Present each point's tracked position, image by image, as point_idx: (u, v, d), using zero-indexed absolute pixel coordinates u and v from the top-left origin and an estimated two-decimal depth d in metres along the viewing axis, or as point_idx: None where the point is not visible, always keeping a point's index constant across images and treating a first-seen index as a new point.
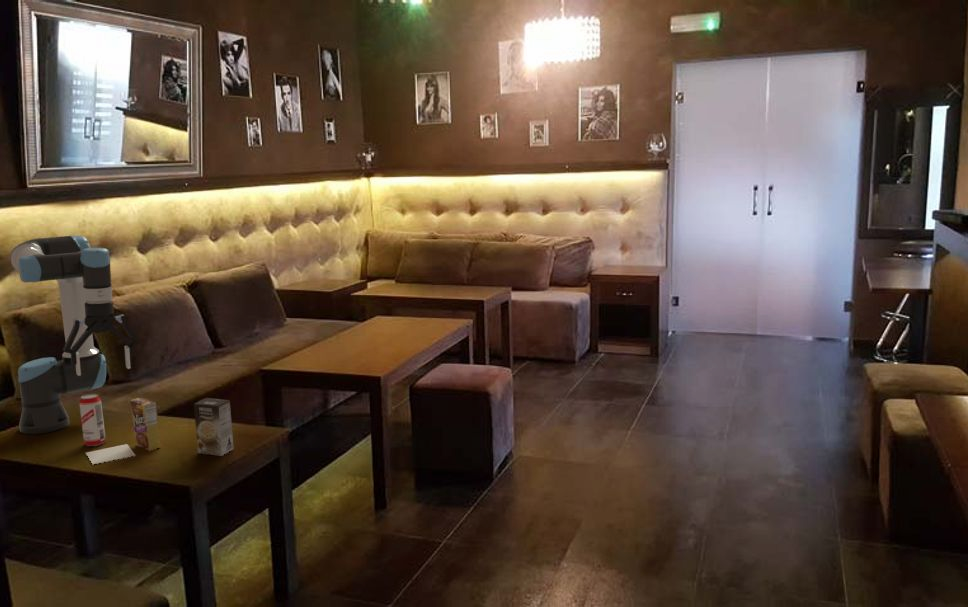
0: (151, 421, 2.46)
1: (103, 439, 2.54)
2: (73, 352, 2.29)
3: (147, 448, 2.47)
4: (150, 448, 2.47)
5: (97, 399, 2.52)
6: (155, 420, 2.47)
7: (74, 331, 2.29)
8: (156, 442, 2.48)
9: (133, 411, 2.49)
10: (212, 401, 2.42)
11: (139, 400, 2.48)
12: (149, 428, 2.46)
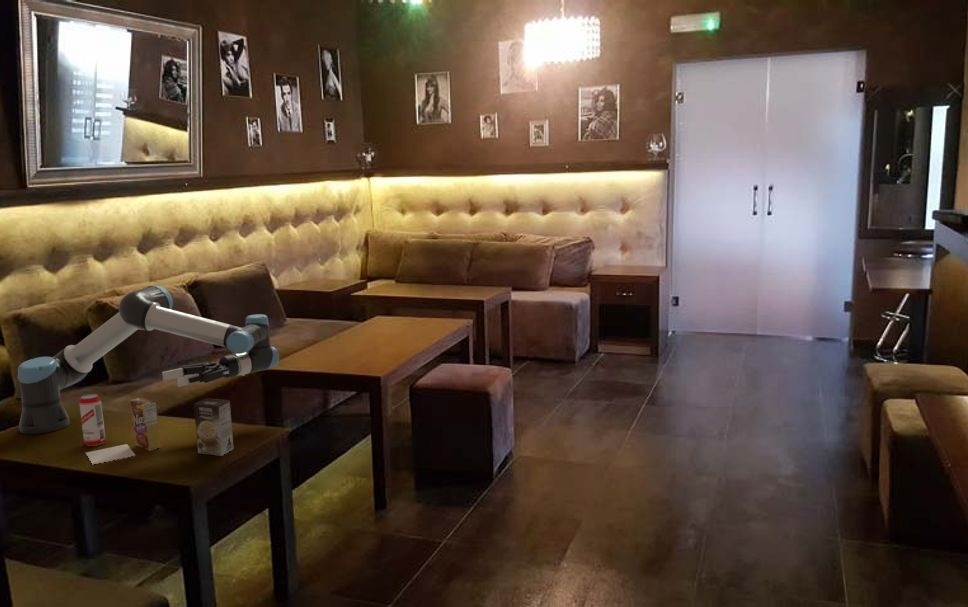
0: (151, 421, 2.46)
1: (103, 439, 2.54)
2: (201, 381, 2.54)
3: (147, 448, 2.47)
4: (150, 448, 2.47)
5: (97, 399, 2.52)
6: (155, 420, 2.47)
7: None
8: (156, 442, 2.48)
9: (133, 411, 2.49)
10: (212, 401, 2.42)
11: (139, 400, 2.48)
12: (149, 428, 2.46)
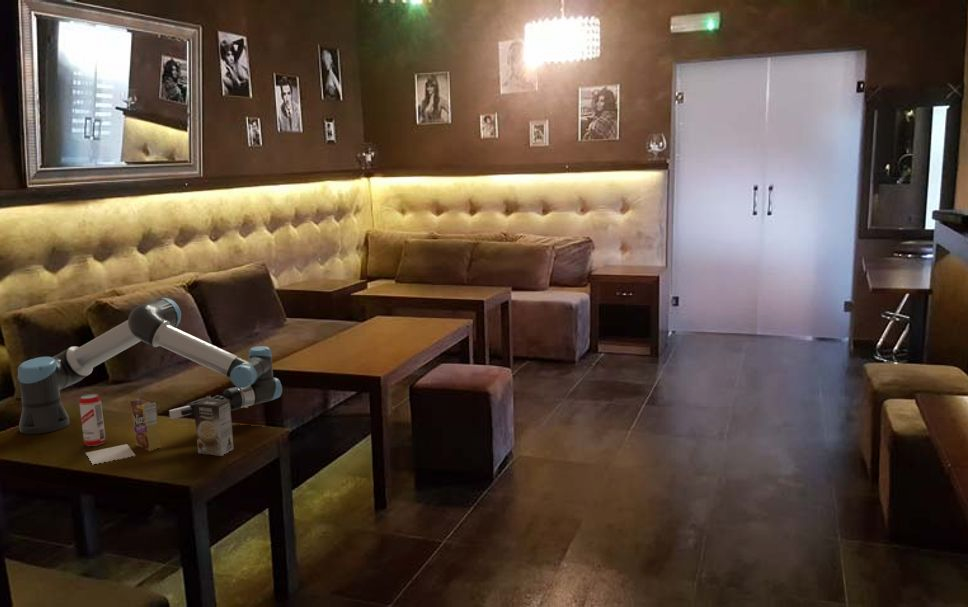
0: (151, 421, 2.46)
1: (103, 439, 2.54)
2: (193, 413, 2.59)
3: (147, 448, 2.47)
4: (150, 448, 2.47)
5: (97, 399, 2.52)
6: (155, 420, 2.47)
7: None
8: (156, 442, 2.48)
9: (133, 411, 2.49)
10: (212, 401, 2.42)
11: (139, 400, 2.48)
12: (149, 428, 2.46)
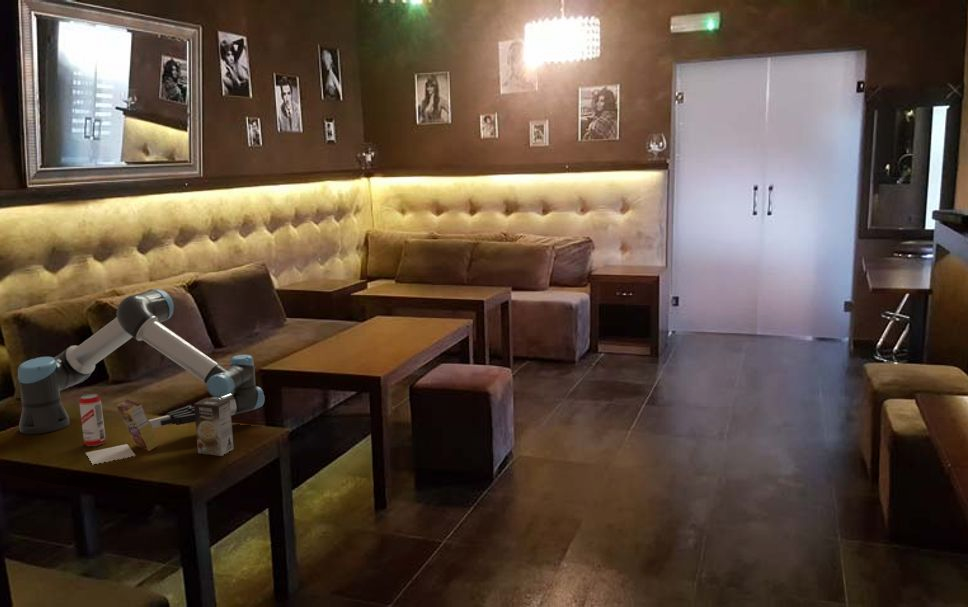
0: (142, 423, 2.44)
1: (103, 439, 2.54)
2: (173, 423, 2.54)
3: (146, 448, 2.47)
4: (149, 448, 2.47)
5: (97, 399, 2.52)
6: (146, 421, 2.45)
7: None
8: (153, 441, 2.48)
9: (122, 416, 2.47)
10: (212, 401, 2.42)
11: (125, 404, 2.45)
12: (142, 430, 2.44)
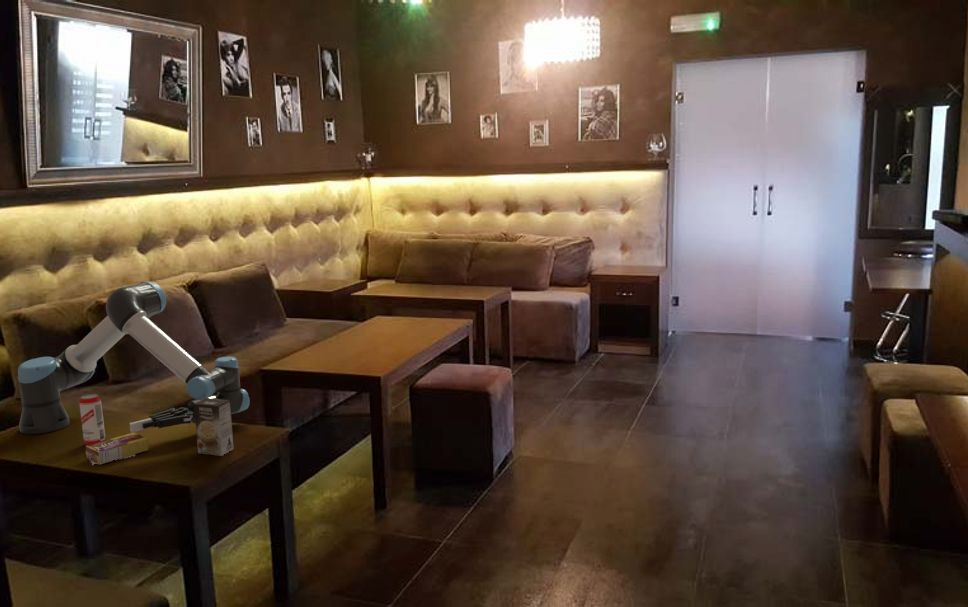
0: (118, 453, 2.39)
1: (103, 439, 2.54)
2: (155, 426, 2.51)
3: None
4: (145, 449, 2.46)
5: (97, 399, 2.52)
6: (118, 449, 2.39)
7: (180, 423, 2.53)
8: (140, 443, 2.45)
9: None
10: (212, 401, 2.42)
11: (90, 455, 2.39)
12: (125, 453, 2.41)
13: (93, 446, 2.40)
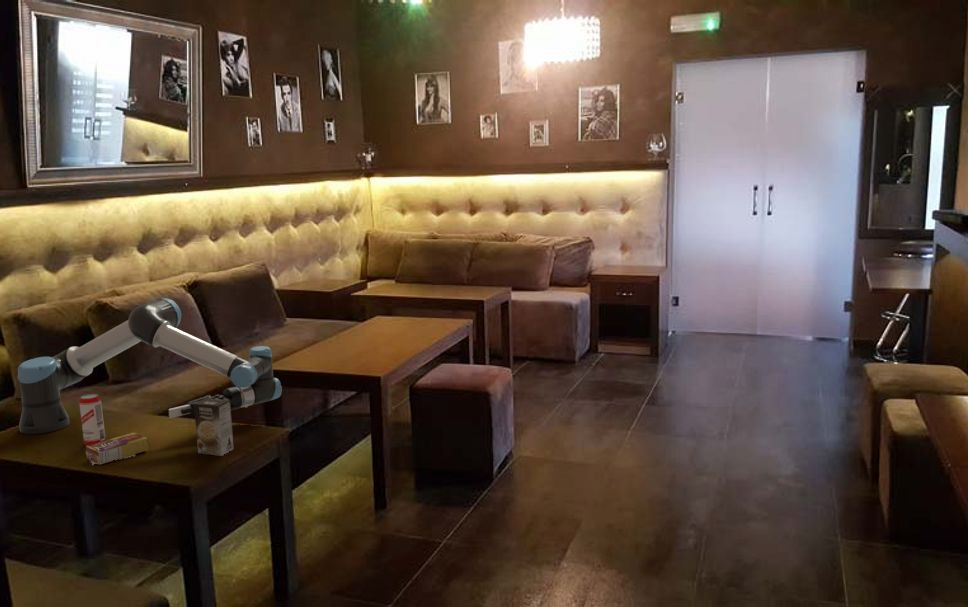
0: (118, 453, 2.39)
1: (103, 439, 2.54)
2: None
3: None
4: (145, 449, 2.46)
5: (97, 399, 2.52)
6: (118, 449, 2.39)
7: None
8: (140, 443, 2.45)
9: None
10: (212, 401, 2.42)
11: (90, 455, 2.39)
12: (125, 453, 2.41)
13: (93, 446, 2.40)
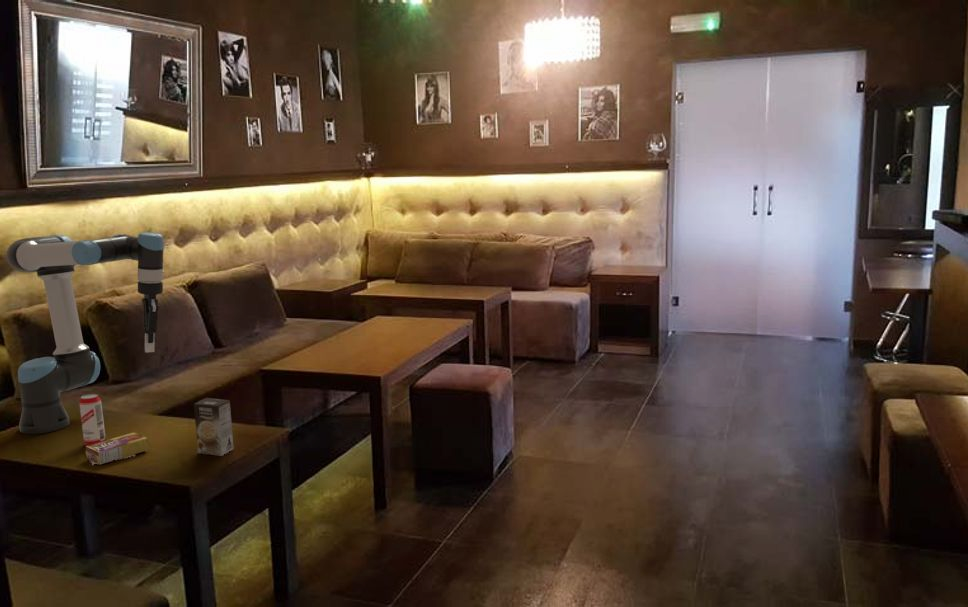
0: (118, 453, 2.39)
1: (103, 439, 2.54)
2: None
3: None
4: (145, 449, 2.46)
5: (97, 399, 2.52)
6: (118, 449, 2.39)
7: None
8: (140, 443, 2.45)
9: None
10: (212, 401, 2.42)
11: (90, 455, 2.39)
12: (125, 453, 2.41)
13: (93, 446, 2.40)
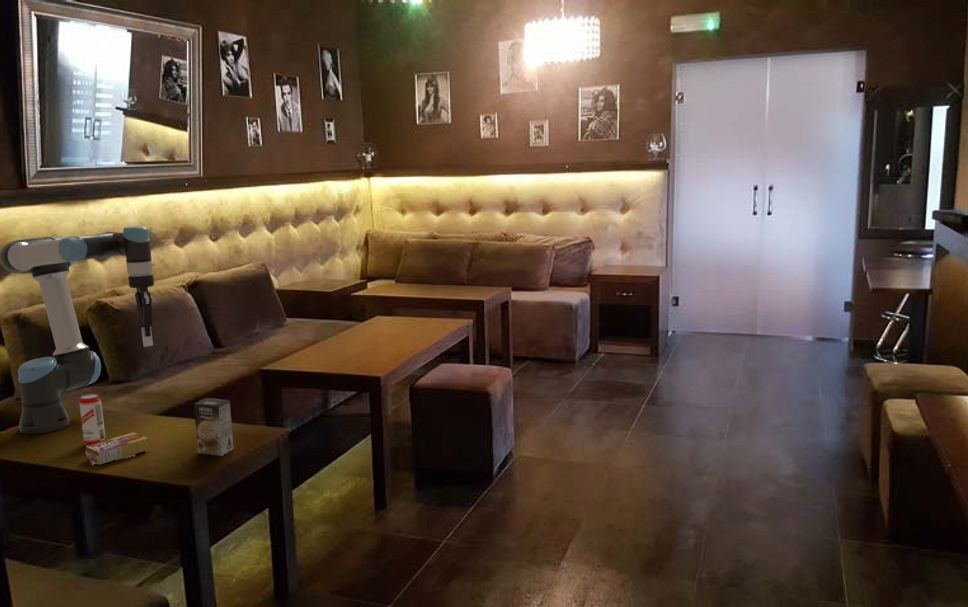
0: (118, 453, 2.39)
1: (103, 439, 2.54)
2: (151, 324, 2.59)
3: None
4: (145, 449, 2.46)
5: (97, 399, 2.52)
6: (118, 449, 2.39)
7: None
8: (140, 443, 2.45)
9: None
10: (212, 401, 2.42)
11: (90, 455, 2.39)
12: (125, 453, 2.41)
13: (93, 446, 2.40)
